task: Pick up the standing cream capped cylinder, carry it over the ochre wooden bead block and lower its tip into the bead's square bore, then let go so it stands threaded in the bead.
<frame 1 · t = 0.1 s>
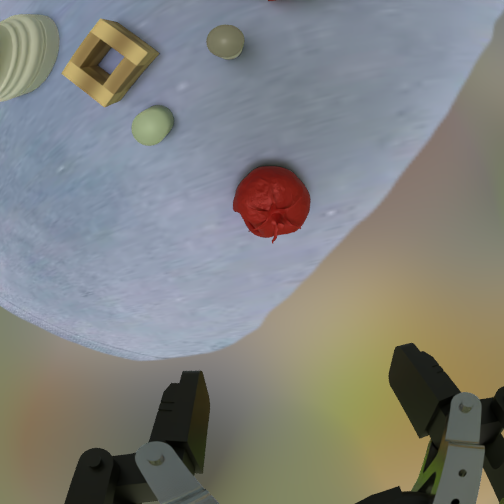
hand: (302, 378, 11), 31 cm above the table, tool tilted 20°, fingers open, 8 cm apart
cream capped cylinder: (229, 48, 27), on the table
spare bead: (157, 121, 32), on the table
bead block: (117, 60, 26), on the table
honey pot: (27, 54, 22), on the table
pomegranate: (269, 190, 40), on the table
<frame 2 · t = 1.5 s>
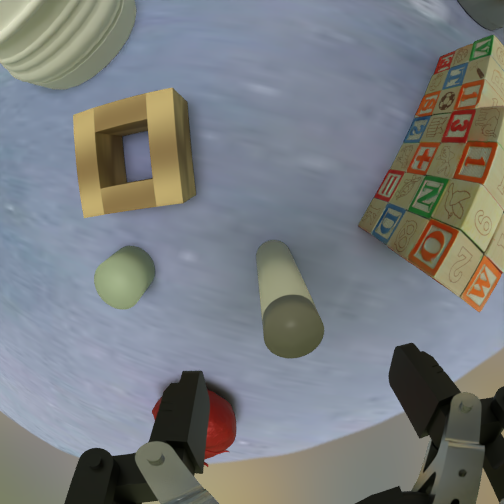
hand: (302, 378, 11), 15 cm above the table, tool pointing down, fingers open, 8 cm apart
cream capped cylinder: (273, 256, 25), on the table
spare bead: (133, 268, 25), on the table
bead block: (145, 155, 22), on the table
stack of blocks: (428, 148, 22), on the table
honey pot: (80, 34, 18), on the table
pomegranate: (198, 402, 31), on the table
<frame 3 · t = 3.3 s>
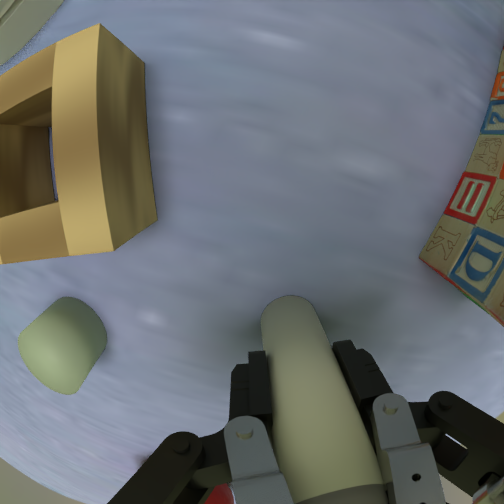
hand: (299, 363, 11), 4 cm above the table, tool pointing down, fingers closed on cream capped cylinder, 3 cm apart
cream capped cylinder: (288, 320, 15), on the table, touching gripper
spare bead: (77, 327, 15), on the table
bead block: (78, 154, 12), on the table
stack of blocks: (503, 146, 12), on the table
pomegranate: (185, 474, 21), on the table
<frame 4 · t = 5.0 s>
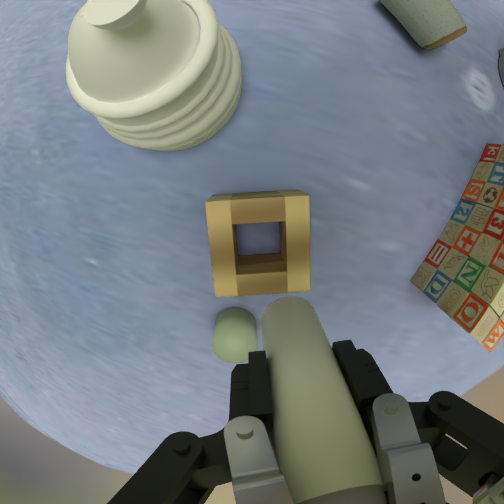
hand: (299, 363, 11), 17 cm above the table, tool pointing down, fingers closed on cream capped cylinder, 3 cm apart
cream capped cylinder: (289, 321, 15), point 14 cm above the table, touching gripper
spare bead: (235, 324, 31), on the table
bead block: (257, 233, 28), on the table
stack of blocks: (465, 221, 28), on the table
honey pot: (175, 88, 23), on the table
ceramic mug: (413, 17, 20), on the table
when the fingers open (6 cm above the table, at t = 7.0 s): cream capped cylinder drops 2 cm, resting in bead block.
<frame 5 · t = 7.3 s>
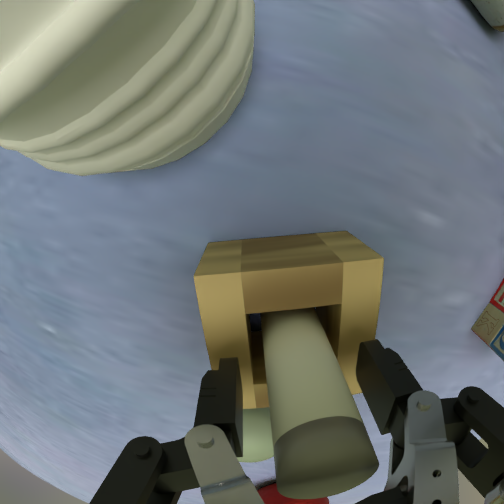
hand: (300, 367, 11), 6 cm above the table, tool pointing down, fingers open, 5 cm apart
cream capped cylinder: (283, 300, 17), resting in bead block
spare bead: (248, 410, 20), on the table
bead block: (282, 299, 17), on the table
honey pot: (142, 67, 13), on the table
pomegranate: (285, 487, 26), on the table
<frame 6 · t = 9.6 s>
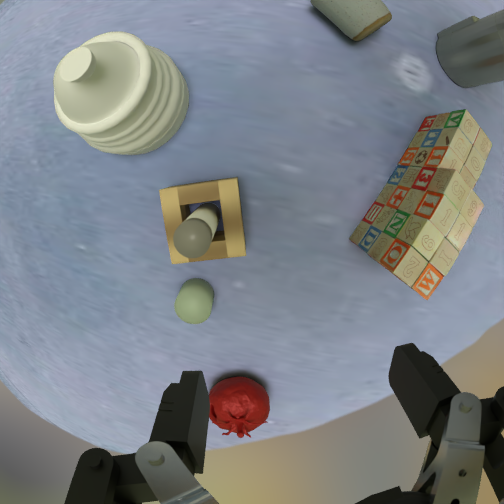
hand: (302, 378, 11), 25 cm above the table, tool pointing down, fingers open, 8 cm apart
cream capped cylinder: (208, 214, 34), resting in bead block
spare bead: (197, 293, 37), on the table
bead block: (207, 214, 34), on the table
stack of blocks: (405, 187, 34), on the table
honey pot: (139, 105, 29), on the table
pomegranate: (238, 390, 42), on the table
ceramic mug: (347, 14, 26), on the table
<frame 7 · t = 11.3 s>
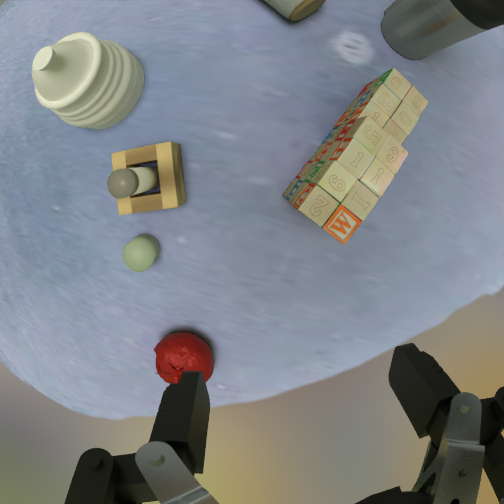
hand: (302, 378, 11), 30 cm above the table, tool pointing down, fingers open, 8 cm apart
cream capped cylinder: (155, 177, 37), resting in bead block
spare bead: (146, 248, 40), on the table
bead block: (155, 177, 37), on the table
stack of blocks: (343, 149, 37), on the table
honey pot: (105, 89, 33), on the table
pomegranate: (187, 348, 46), on the table
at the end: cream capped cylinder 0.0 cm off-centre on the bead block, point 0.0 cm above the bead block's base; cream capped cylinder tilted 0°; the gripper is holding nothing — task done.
